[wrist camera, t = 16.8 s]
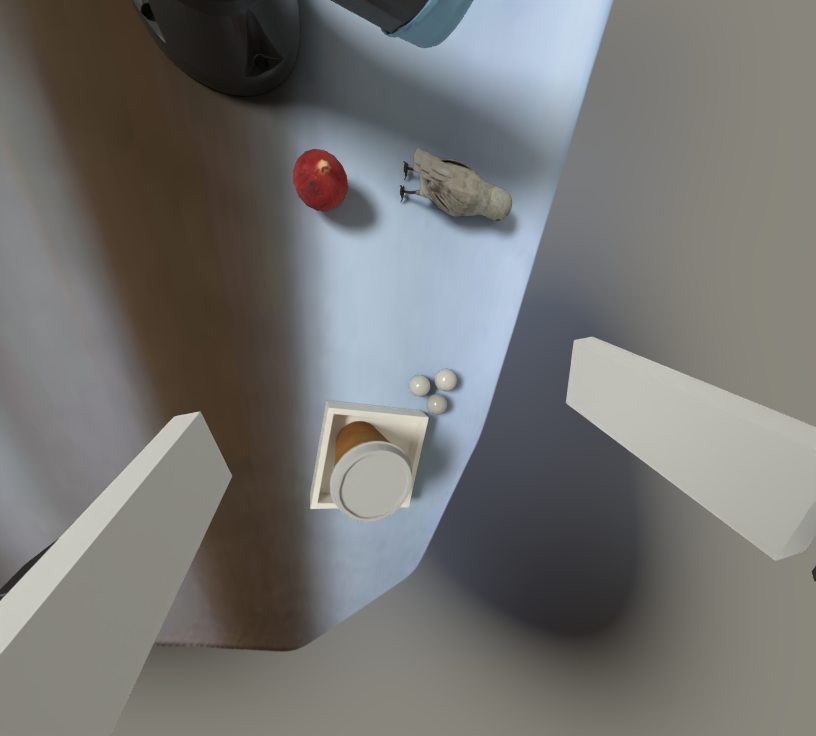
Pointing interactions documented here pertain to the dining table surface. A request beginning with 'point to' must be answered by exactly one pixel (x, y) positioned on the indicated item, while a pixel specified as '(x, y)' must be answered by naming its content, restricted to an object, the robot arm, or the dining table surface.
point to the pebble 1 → (419, 385)
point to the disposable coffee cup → (368, 473)
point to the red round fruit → (320, 180)
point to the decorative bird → (457, 188)
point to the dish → (389, 421)
